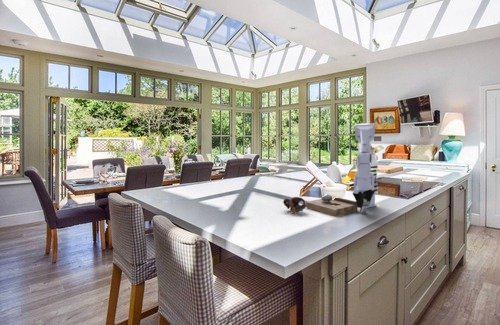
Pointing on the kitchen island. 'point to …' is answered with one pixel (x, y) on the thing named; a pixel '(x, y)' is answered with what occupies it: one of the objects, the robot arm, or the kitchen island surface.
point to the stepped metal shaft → (364, 207)
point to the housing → (333, 206)
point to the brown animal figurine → (294, 204)
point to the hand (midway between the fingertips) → (363, 206)
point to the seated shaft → (326, 198)
